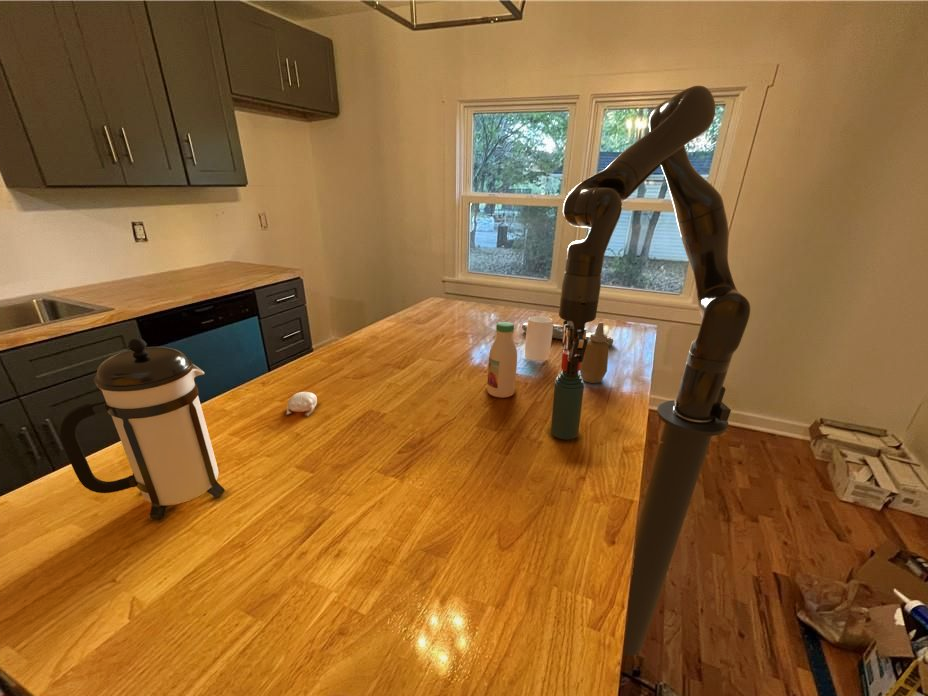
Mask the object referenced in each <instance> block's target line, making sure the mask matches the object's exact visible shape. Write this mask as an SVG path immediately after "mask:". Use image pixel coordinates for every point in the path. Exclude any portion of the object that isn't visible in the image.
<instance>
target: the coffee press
mask: <svg viewBox="0 0 928 696" xmlns="http://www.w3.org/2000/svg"><path fill="white" fill-rule="evenodd" d="M147 345H148V343H147V342H146V341H145V340H144V339H142V338H139V337H135V338H131V339H130V340H129V342H128V345H127V347H128V348H129V349H130V350H126V351H122V352H119V353H117V354H114V355H112V356H110V357H108V358H107V359H105V360H104V361H103V362H102V363H100V364H99V366H98V368H97V370H96V375H94V378H93V381H94V383H95V386H96V387H97V388H98V389H99V390H100V391H101V392H102V395H103V397H104V398H103V401H99V402H94V403H84V404H82V405H80V406H77V407H75V408H73V409H72V410H70V411H69V412H68V413H67V414H66V415H64V417H63V419H62V421H61V423H60V427H59V435H60V439H61V444H62V446H63V449H64V451H65V455H66V456H67V458H68V460H69V462H70V465H71V467H72V469H73V471H74V473H75V475H76V477H77V479H78V481H79V482H80V484H81V485H82V486H83V487H84V488H85V489H87V490H89V491H90V492H94V493H97V494H110V493H116V492H121V491H125V490H127V489H131V488H137V489H138V490H139V491H140V494H141V496H142V498H143V499H144V500H145V501H146V502H148V503H149V504H151V506H150V512H149V518H150V519H151V520H162V519H163V518H164V516H165V513H166V510H167V508H168V507H169V506H174V505H175V506H176V505H179V504H183V503H186V502H189V501H192V500H194V499H196V498H198V497H201V496H202V495H203V494H205V493H208V494H210V495H211V496H213V498H216V499H218V498H221V497H222V495H224V494H225V492H226V491H225V490H226V489H225V488H224V487H223V486H222V485H221V484H220V483H219V482H218V477H219V468H218V464H217V460H216V456H215V452H214V448H213V445H212V441H211V437H210V434H209V430H208V427H207V422H206V419H205V415H204V411H203V407H202V404H201V400H200V397H199V394H200V392H199V387H198V384H197V381H196V379H195V378H196V377H198V376H203V375H205V371H204V370H202V369H201V367H199V366H197V365H196V364H194V363H193V361H192V360H191V359H190V358H189V357H187V356H186V355H185V353H183V352H182V351H180V350H178V349H175V348H171V347H166V346H147ZM106 412H107V413H108V414H109V415H110V416H111V418H112V421H113V424H114V427H115V429H116V431H117V434H118V437H119V439H120V442H121V445H122V447H123V450H124V452H125V455H126V457H127V460H128V463H129V466H130V469H131V471H132V474H131V475H129V476H127V477H124V478H120V479H116V480H111V481H105V480H101V479H99V478H97V477H96V476H95V475H94V473H93V471H92V469H91V467H90V464H89V462H88V460H87V458H86V456H85V453H84V451H83V449H82V446H81V443H80V442H79V441H80V440H79V439H78V437H77V434H76V429H77V427H78V425H79V424H80V422H81V421H83V420H85V419H86V418H90V417H92V416H95V415H96V414H100V413H101V414H102V413H106Z"/></svg>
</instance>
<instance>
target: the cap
mask: <svg viewBox="0 0 928 696" xmlns="http://www.w3.org/2000/svg"><path fill="white" fill-rule="evenodd" d="M574 356H577V354H575V355H574ZM567 358H568V350H564V351H563V350H562V355H561V364H560V365H561V366H560V367H561V370H562V371H563V370H564V371H566V368H567V361H568V360H567ZM580 367H581V362H579V363H578V370H577V371H578V372H579V371H580Z"/></svg>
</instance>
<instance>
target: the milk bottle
mask: <svg viewBox="0 0 928 696" xmlns="http://www.w3.org/2000/svg"><path fill="white" fill-rule="evenodd" d="M495 329H496V331H495V332H496V336H495V339H494V340H493V343H492V345H491V347H490V349H489V353H488V354H489V355H488V365H487V366H488V367H487V382H486V383H487V384H486V390H487V391H486V392H487V393H488V394H489V395H490V396H492V397H495V398H501V399H503V398H509V397H511V396H513V395H514V394H515V391H516V380H517V367H518V349H517V346H516V344H515V341H514V335H513V334H514V332H515V331H514V330H515V324H514V323H513V322H510V321H500V322H497V323H496V328H495Z"/></svg>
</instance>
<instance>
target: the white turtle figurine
mask: <svg viewBox="0 0 928 696" xmlns="http://www.w3.org/2000/svg"><path fill="white" fill-rule="evenodd" d="M317 397H318V396H317V395H316V394H315V393H314V392H310V391H298V392H296V393H294V394H293V395H292V396H291V397H290V398H289V399H288V400H287V406H286V414H285V415H286V416H287V415H289V414H290V415H291V414H292V412H294V413H303V412H306V414H304V416H309V415H311V414H312V413H313V411H314V410H315V408H316V406H317V405H318V398H317Z"/></svg>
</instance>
